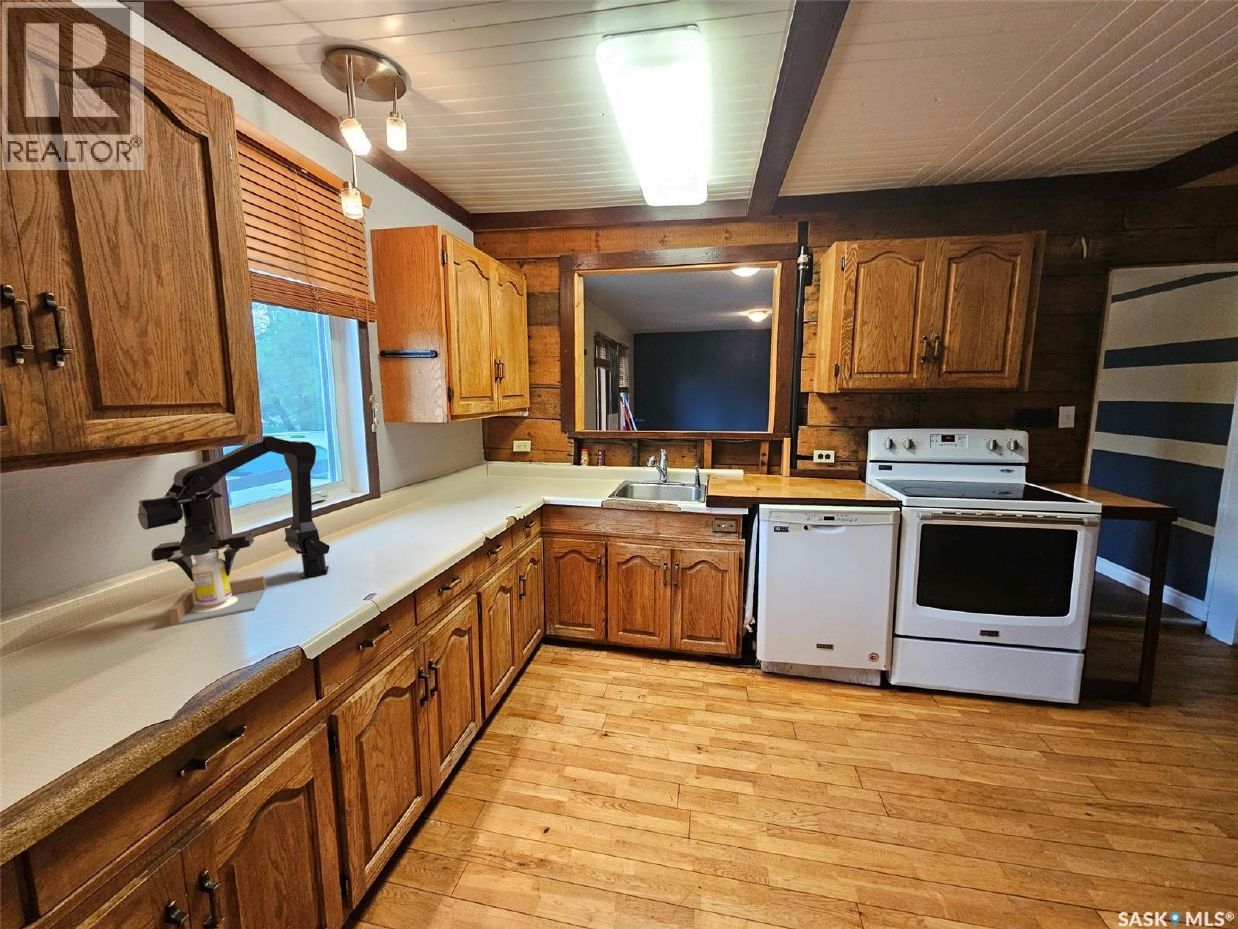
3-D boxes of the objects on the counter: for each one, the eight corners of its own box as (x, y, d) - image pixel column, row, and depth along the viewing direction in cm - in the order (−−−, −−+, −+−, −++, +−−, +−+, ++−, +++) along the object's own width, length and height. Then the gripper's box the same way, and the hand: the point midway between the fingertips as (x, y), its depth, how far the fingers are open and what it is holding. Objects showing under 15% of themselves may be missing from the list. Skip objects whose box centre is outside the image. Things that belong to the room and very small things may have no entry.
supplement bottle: (225, 592, 126) (217, 546, 124) (236, 597, 123) (228, 550, 121) (193, 603, 120) (184, 554, 118) (204, 608, 117) (195, 558, 115)
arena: (191, 602, 125) (188, 588, 124) (266, 589, 132) (263, 575, 131) (171, 625, 112) (168, 609, 112) (255, 609, 119) (252, 594, 119)
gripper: (135, 533, 107) (148, 598, 109) (238, 520, 115) (249, 581, 118) (155, 521, 117) (167, 581, 119) (249, 510, 125) (258, 566, 127)
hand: (211, 578), depth 120 cm, fingers closed on supplement bottle, 6 cm apart
